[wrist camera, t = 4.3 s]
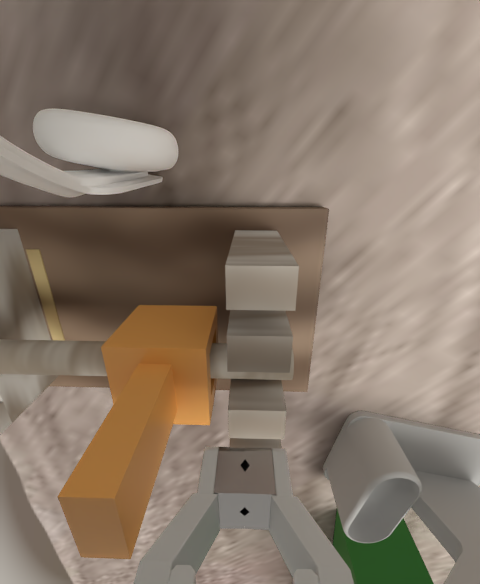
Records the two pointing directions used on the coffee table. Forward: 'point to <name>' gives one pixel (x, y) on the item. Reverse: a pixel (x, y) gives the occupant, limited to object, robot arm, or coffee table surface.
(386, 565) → the hardback book
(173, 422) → the sleeve
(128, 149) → the headset
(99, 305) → the cord comb board
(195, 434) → the coffee table surface
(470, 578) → the phone holder
